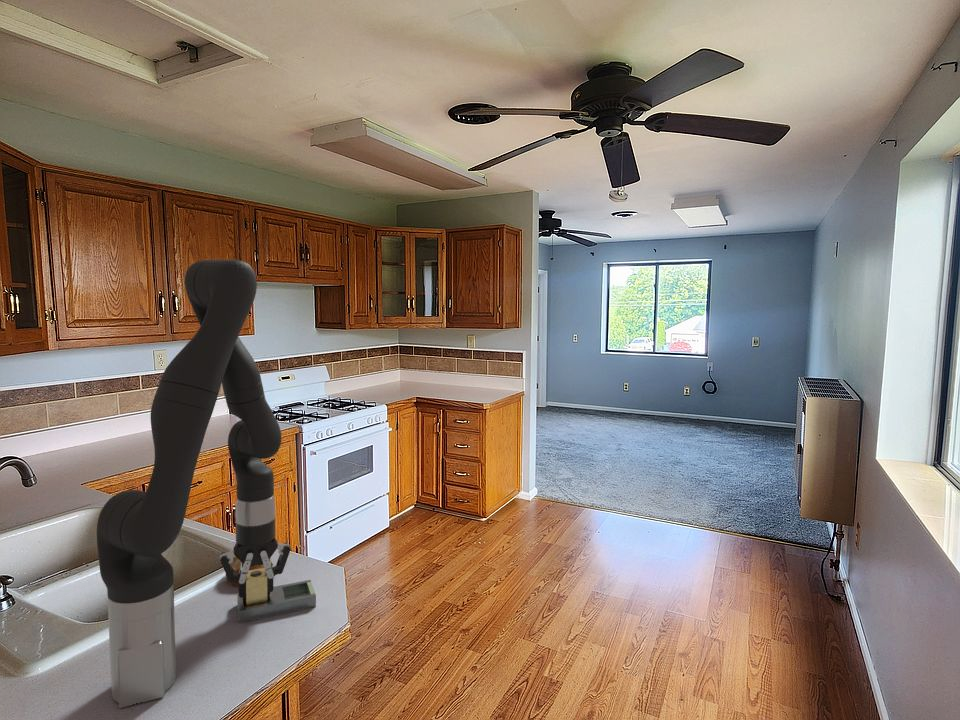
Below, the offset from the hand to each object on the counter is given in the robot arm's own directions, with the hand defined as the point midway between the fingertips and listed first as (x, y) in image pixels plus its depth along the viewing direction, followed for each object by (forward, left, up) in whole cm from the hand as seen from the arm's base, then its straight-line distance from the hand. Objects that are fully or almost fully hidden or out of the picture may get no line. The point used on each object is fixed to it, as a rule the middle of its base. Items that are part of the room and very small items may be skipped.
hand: (256, 595), depth 113 cm
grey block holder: (0, -4, -3) cm, 5 cm away
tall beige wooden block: (0, 0, -3) cm, 3 cm away
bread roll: (+15, 0, -4) cm, 15 cm away
